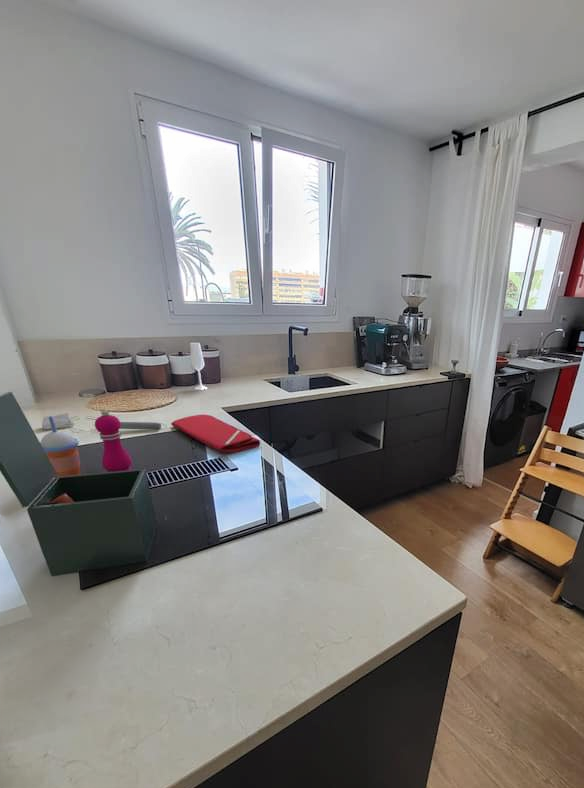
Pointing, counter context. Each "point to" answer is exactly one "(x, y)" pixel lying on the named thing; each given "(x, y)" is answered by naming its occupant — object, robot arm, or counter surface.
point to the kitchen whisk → (130, 425)
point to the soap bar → (57, 421)
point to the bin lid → (22, 453)
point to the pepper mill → (112, 443)
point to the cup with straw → (62, 451)
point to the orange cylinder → (62, 499)
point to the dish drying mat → (216, 433)
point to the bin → (95, 521)
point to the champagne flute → (197, 362)
